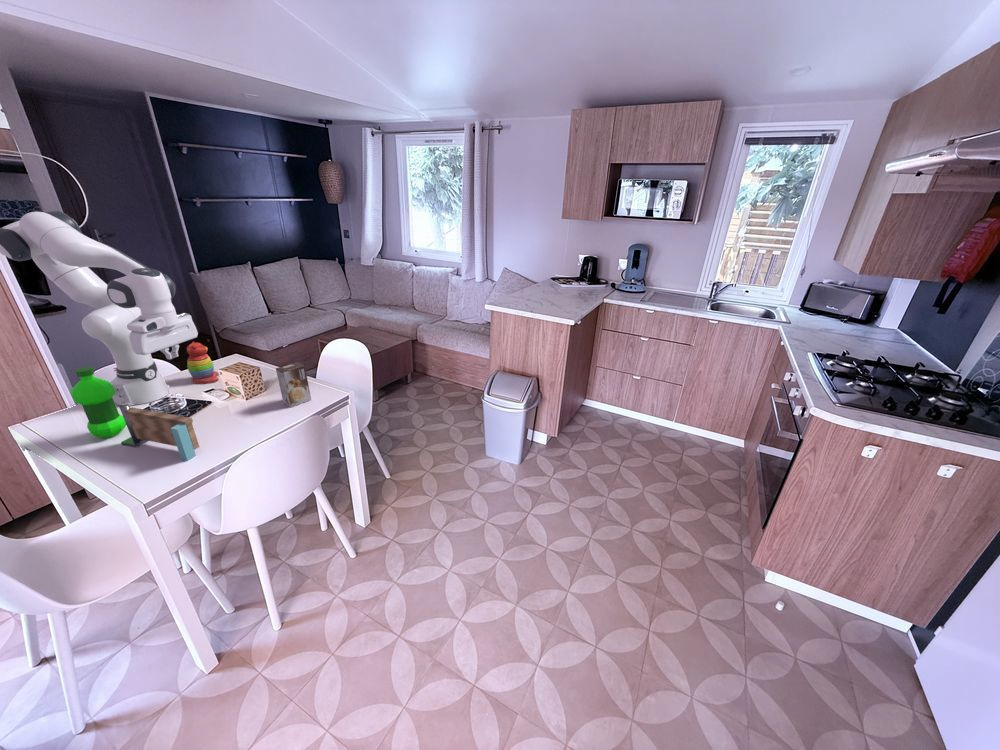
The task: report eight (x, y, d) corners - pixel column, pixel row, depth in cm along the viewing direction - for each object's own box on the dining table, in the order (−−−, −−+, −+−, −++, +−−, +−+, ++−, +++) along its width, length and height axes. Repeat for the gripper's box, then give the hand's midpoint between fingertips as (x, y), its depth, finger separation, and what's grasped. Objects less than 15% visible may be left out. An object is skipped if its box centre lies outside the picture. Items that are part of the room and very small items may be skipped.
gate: (135, 438, 135) (124, 410, 131) (142, 435, 137) (131, 407, 133) (194, 450, 131) (185, 421, 126) (200, 446, 133) (191, 418, 129)
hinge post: (121, 444, 135) (106, 408, 130) (139, 435, 141) (126, 400, 135) (136, 447, 134) (121, 411, 128) (153, 437, 140) (140, 402, 134)
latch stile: (181, 459, 130) (170, 428, 125) (189, 454, 132) (179, 423, 127) (187, 460, 129) (176, 429, 124) (196, 455, 132) (185, 424, 127)
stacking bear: (218, 382, 180) (208, 345, 173) (191, 386, 175) (179, 348, 168) (218, 373, 189) (209, 337, 181) (192, 377, 184) (181, 340, 176)
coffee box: (303, 395, 173) (297, 361, 166) (311, 400, 169) (305, 365, 163) (282, 403, 166) (275, 367, 159) (290, 408, 162) (283, 372, 156)
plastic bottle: (83, 443, 135) (53, 377, 124) (102, 427, 144) (75, 364, 134) (119, 440, 137) (92, 374, 127) (136, 424, 147) (111, 362, 136)
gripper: (181, 310, 142) (192, 346, 147) (120, 326, 123) (135, 367, 129) (196, 312, 140) (206, 348, 146) (137, 329, 122) (151, 370, 128)
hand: (172, 357), depth 137 cm, fingers closed
